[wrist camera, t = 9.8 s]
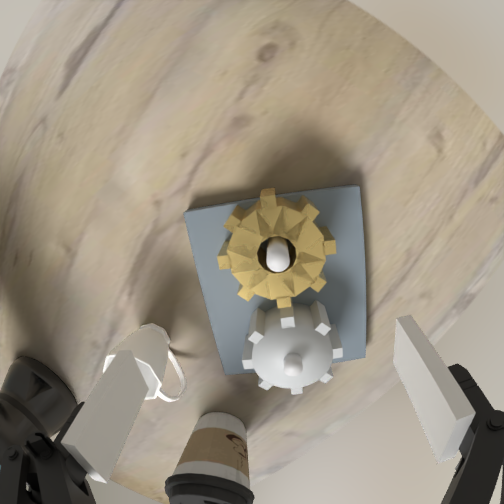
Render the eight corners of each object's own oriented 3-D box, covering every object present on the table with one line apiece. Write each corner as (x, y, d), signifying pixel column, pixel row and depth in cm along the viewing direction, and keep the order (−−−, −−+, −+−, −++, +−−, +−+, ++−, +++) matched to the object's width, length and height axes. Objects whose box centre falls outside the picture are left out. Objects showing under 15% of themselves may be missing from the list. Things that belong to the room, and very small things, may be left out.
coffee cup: (274, 433, 42) (272, 517, 27) (218, 453, 44) (205, 527, 30) (225, 391, 39) (207, 484, 25) (169, 416, 42) (142, 494, 28)
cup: (150, 303, 35) (123, 341, 28) (209, 358, 37) (196, 403, 30) (119, 331, 37) (91, 369, 29) (174, 381, 39) (157, 423, 31)
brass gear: (235, 292, 32) (229, 314, 28) (215, 197, 29) (206, 206, 25) (331, 279, 31) (339, 299, 27) (321, 181, 28) (329, 187, 24)
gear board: (226, 367, 37) (218, 409, 30) (187, 209, 31) (163, 228, 24) (362, 350, 36) (377, 391, 28) (355, 184, 29) (379, 196, 22)
